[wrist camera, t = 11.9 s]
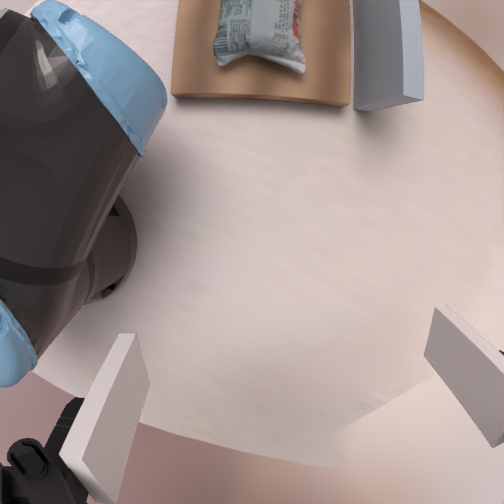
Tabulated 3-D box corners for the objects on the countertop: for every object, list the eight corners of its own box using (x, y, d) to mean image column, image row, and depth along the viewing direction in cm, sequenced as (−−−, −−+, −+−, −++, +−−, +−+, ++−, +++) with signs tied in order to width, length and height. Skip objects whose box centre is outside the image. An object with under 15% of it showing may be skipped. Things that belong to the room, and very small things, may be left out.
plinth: (176, 98, 32) (170, 93, 29) (188, -22, 27) (184, -34, 24) (340, 107, 32) (349, 103, 30) (340, -11, 28) (348, -22, 25)
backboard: (353, 109, 33) (403, 94, 21) (352, -9, 28) (391, -54, 16) (369, 111, 33) (423, 100, 21) (367, -5, 28) (410, -48, 16)
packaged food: (307, -16, 25) (316, -37, 20) (301, 78, 29) (311, 66, 24) (225, -24, 25) (223, -46, 20) (213, 70, 28) (208, 57, 24)
